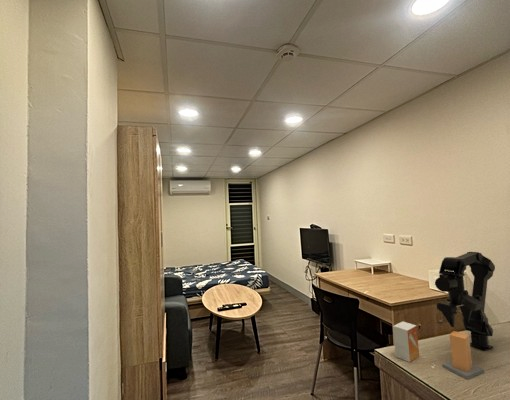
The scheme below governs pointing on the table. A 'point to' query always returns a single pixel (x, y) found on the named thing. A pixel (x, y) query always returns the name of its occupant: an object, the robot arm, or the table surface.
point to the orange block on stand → (461, 351)
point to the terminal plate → (465, 374)
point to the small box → (406, 341)
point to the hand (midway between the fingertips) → (459, 324)
